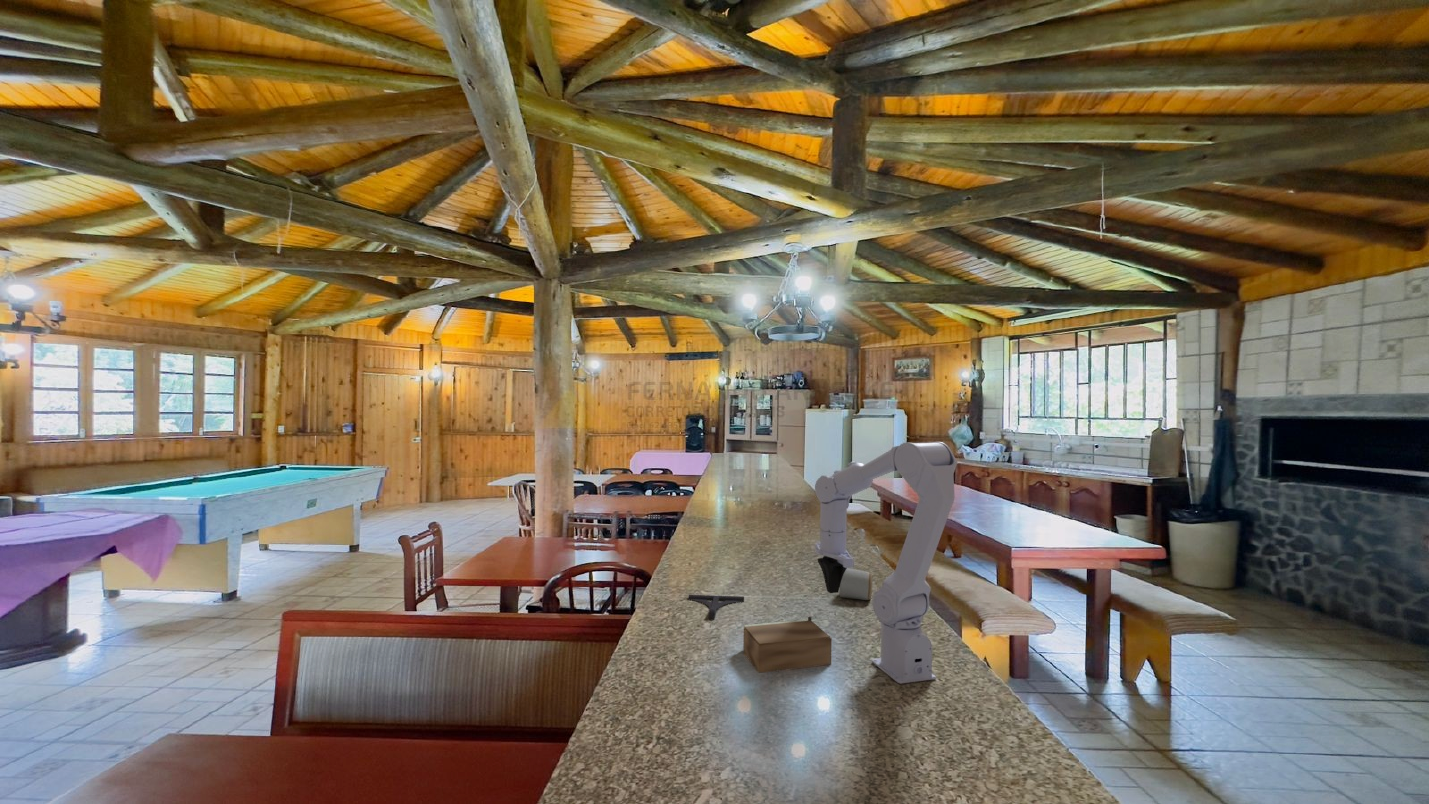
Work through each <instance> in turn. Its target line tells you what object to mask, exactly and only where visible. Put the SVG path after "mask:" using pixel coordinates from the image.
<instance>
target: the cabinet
mask: <svg viewBox="0 0 1429 804" xmlns="http://www.w3.org/2000/svg"><path fill="white" fill-rule="evenodd" d="M807 620H808V621H800V622H789V623H779V624H768V625H758V626H747V627H745V628H744V627H743V649H742V652H743V654H744V656H745V657H746V658H747V659H748V661H749V662H750V664H751V665H752V666H753V668H754V669H755V670H756V671H757V672H758V674H761V673H762V674H763V673H770V672H777V670H778V672H779V670H780V671H786V669H788V670H792V669H793V670H795V669H802V668H803V669H804V668H810V667H811V668H812V667H820V666H828V665H832V642H833V641H832V637H831V635H829V634H828V633H826V631H824V630H823V629H822V628H821V627H819V626H818V625H817V624H816V623H815V622H814V621H813V620H812V617H811V616H807Z"/></svg>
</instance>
